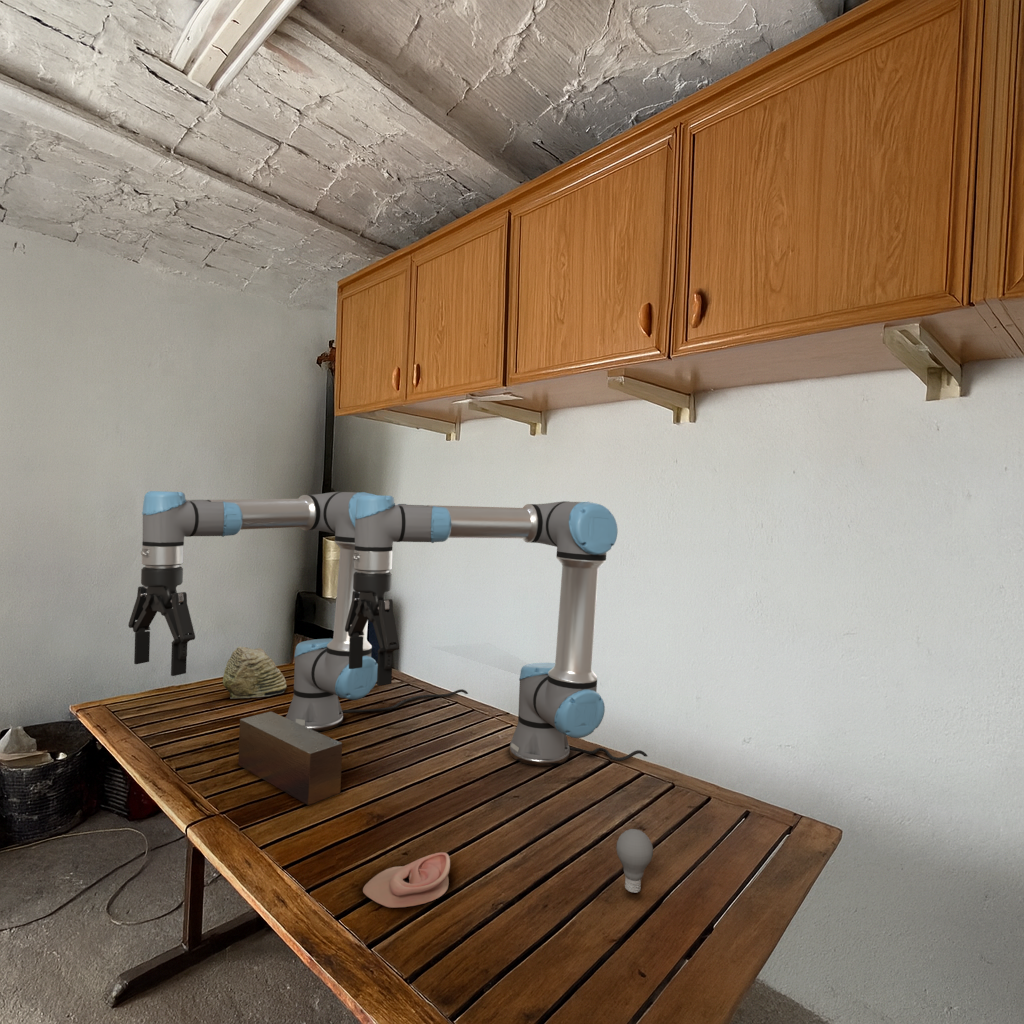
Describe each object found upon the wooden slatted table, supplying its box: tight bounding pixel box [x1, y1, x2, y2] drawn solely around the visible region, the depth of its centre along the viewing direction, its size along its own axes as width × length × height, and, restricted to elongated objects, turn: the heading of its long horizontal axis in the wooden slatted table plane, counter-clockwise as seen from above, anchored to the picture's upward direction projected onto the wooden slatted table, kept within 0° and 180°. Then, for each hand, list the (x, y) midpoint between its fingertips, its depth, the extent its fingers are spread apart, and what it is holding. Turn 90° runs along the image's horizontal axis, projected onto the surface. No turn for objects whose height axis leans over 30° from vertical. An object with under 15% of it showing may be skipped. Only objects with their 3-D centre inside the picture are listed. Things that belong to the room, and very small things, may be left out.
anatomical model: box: [362, 851, 451, 909], centre depth 104 cm, size 13×4×12 cm
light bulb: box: [615, 828, 654, 894], centre depth 106 cm, size 6×6×10 cm
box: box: [237, 711, 343, 806], centre depth 142 cm, size 28×8×11 cm, turn 51°
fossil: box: [222, 646, 288, 699], centre depth 198 cm, size 9×18×15 cm, turn 132°
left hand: (159, 668), depth 131 cm, fingers open, 13 cm apart
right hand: (369, 676), depth 128 cm, fingers open, 13 cm apart
